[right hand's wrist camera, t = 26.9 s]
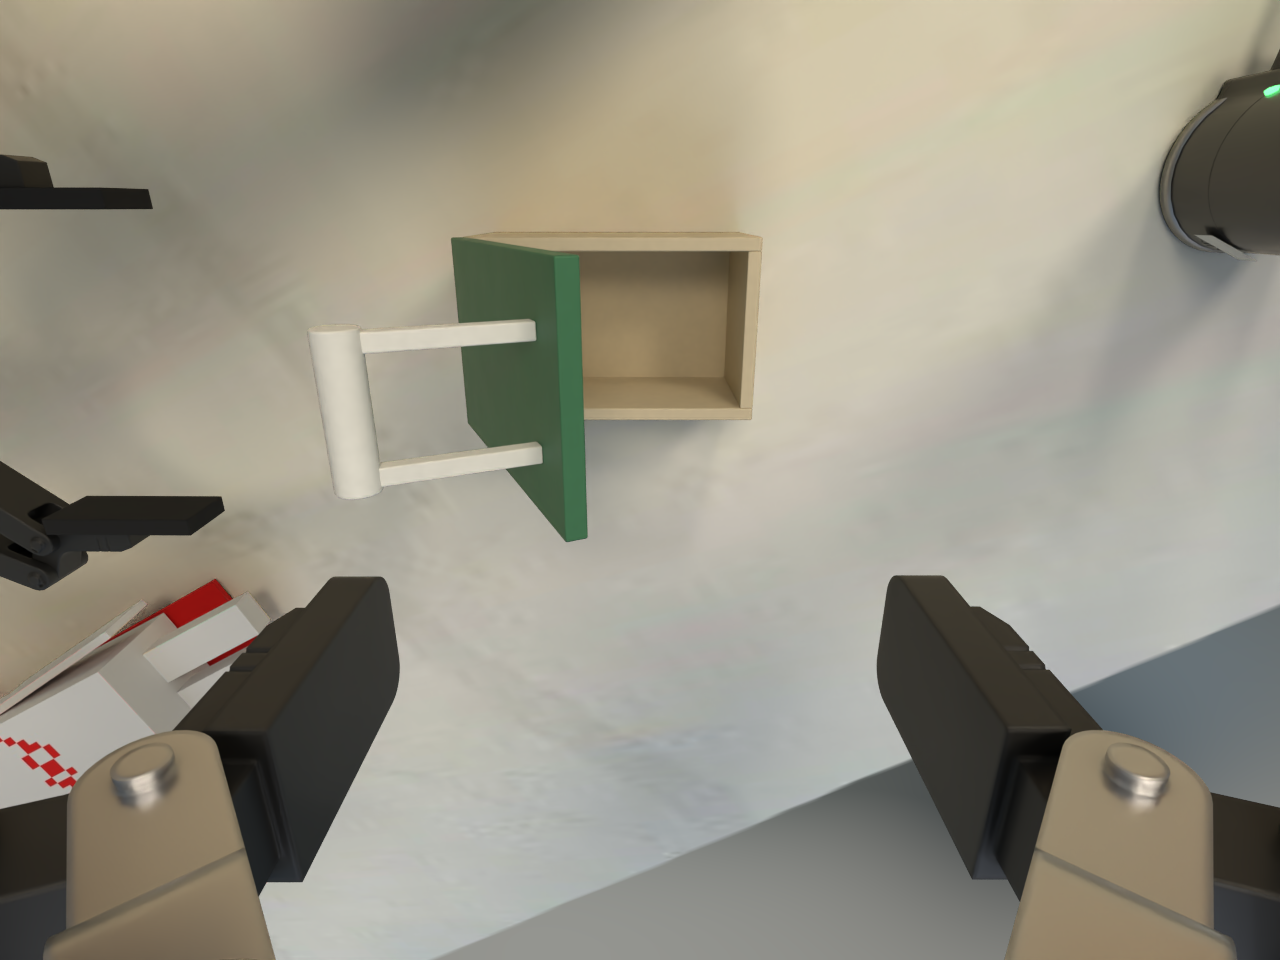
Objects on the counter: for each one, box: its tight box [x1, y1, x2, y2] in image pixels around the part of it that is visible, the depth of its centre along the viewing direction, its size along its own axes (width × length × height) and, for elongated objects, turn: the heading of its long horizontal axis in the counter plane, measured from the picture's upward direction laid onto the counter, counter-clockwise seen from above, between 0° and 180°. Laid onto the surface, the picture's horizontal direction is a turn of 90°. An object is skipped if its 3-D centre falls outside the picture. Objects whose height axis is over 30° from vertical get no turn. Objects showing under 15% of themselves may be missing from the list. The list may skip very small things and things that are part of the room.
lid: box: [307, 237, 587, 542], centre depth 29 cm, size 17×10×8 cm
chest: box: [467, 232, 762, 420], centre depth 42 cm, size 16×10×9 cm, turn 90°
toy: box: [0, 579, 271, 809], centre depth 52 cm, size 12×13×30 cm
